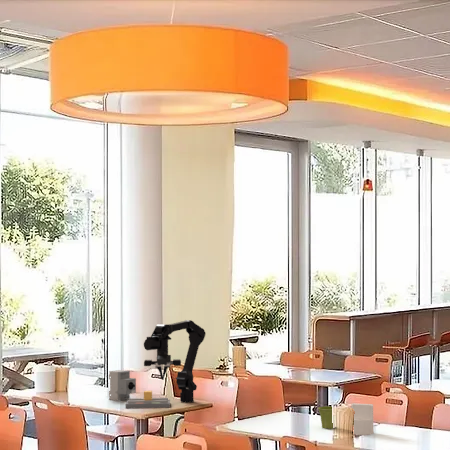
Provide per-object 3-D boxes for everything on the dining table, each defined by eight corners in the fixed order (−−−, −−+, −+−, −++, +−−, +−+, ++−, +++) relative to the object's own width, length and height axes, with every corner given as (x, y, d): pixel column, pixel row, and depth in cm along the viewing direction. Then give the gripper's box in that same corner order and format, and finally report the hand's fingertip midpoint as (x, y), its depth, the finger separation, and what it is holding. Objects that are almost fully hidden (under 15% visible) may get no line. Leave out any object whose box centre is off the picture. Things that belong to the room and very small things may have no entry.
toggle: (152, 400, 484) (152, 390, 485) (151, 401, 479) (151, 391, 480) (144, 400, 484) (144, 390, 484) (143, 402, 479) (143, 392, 479)
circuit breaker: (128, 401, 498) (128, 372, 498) (108, 399, 506) (108, 371, 507) (138, 399, 504) (138, 371, 504) (118, 397, 512) (118, 370, 513)
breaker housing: (170, 403, 489) (170, 397, 489) (169, 407, 475) (169, 401, 475) (127, 404, 488) (127, 397, 488) (125, 408, 474) (125, 401, 474)
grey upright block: (349, 434, 394) (349, 405, 395) (354, 430, 403) (354, 402, 403) (371, 435, 391) (370, 406, 392) (375, 432, 399) (375, 403, 400)
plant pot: (325, 430, 404) (324, 410, 404) (314, 427, 413) (314, 407, 413) (344, 428, 408) (343, 408, 408) (333, 425, 416) (332, 405, 417)
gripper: (143, 350, 475) (143, 382, 474) (180, 350, 476) (180, 381, 475) (144, 348, 486) (144, 379, 485) (180, 348, 487) (181, 378, 486)
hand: (162, 379), depth 483 cm, fingers closed
